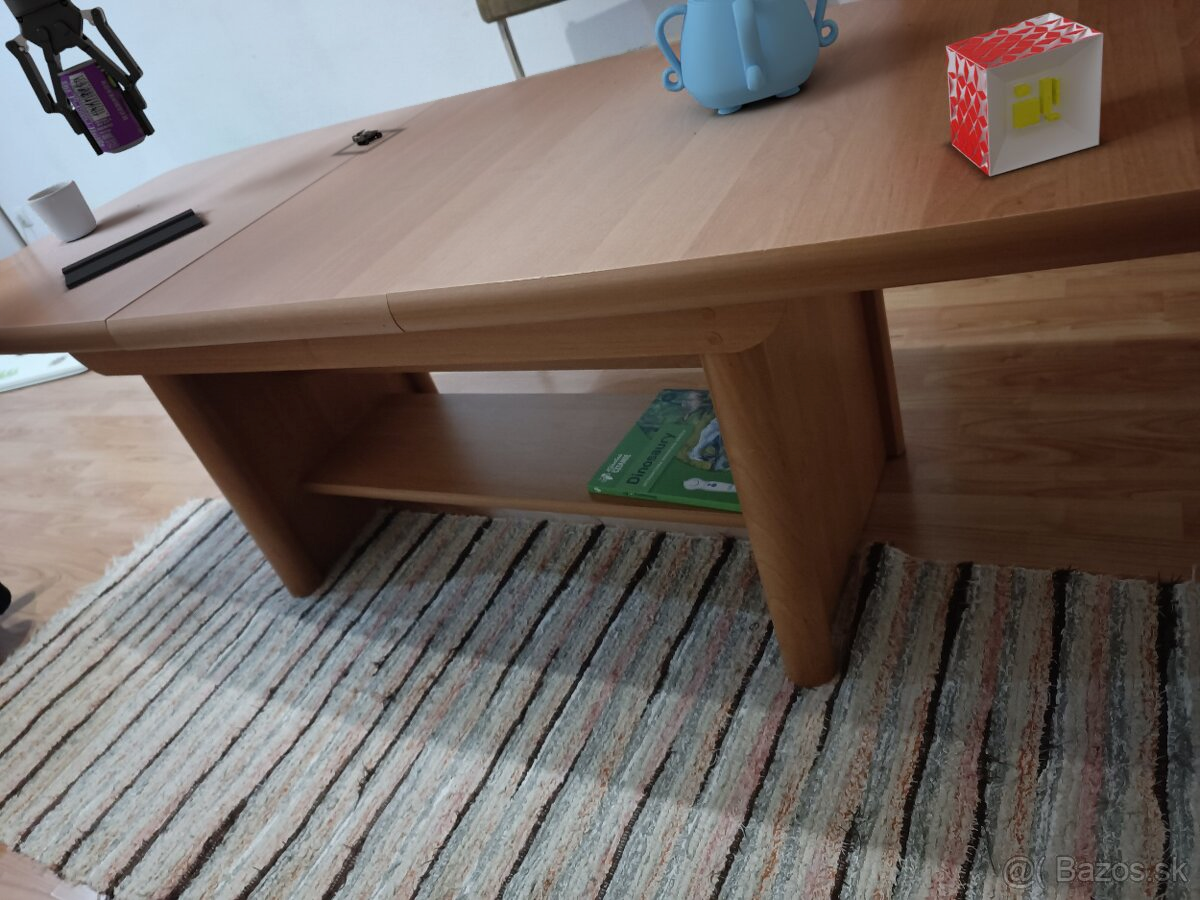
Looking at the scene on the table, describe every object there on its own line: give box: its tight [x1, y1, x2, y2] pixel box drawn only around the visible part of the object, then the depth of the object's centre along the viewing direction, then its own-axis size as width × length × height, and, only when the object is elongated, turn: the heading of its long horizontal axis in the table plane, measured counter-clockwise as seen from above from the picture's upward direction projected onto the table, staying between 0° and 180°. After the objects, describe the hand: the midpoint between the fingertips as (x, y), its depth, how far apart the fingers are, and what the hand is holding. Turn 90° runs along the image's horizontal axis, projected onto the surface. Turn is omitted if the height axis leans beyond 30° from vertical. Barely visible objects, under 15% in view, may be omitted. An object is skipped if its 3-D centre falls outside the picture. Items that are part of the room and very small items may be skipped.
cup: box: [25, 179, 97, 243], centre depth 145 cm, size 11×8×8 cm
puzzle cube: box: [945, 12, 1105, 177], centre depth 66 cm, size 8×8×8 cm
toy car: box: [351, 128, 383, 147], centre depth 136 cm, size 3×4×2 cm, turn 143°
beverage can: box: [57, 58, 148, 155], centre depth 127 cm, size 7×7×12 cm
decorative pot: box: [654, 0, 839, 115], centre depth 94 cm, size 16×16×14 cm
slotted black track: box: [61, 208, 205, 291], centre depth 126 cm, size 20×10×1 cm, turn 122°
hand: (126, 143), depth 130 cm, fingers closed on beverage can, 7 cm apart
